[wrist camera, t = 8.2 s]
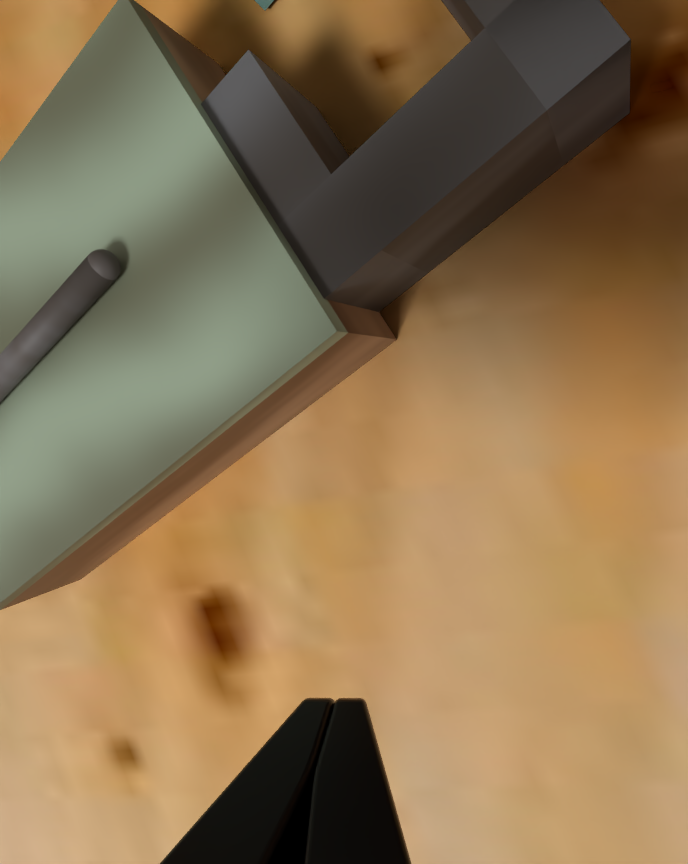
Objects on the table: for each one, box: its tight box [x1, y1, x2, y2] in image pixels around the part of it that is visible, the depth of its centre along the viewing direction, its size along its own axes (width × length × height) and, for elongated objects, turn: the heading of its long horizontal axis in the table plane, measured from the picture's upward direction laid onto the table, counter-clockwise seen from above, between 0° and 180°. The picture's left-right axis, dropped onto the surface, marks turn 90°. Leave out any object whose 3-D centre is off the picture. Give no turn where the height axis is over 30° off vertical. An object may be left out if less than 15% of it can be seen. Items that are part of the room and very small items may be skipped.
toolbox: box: [0, 0, 631, 610], centre depth 20 cm, size 12×27×6 cm, turn 124°
